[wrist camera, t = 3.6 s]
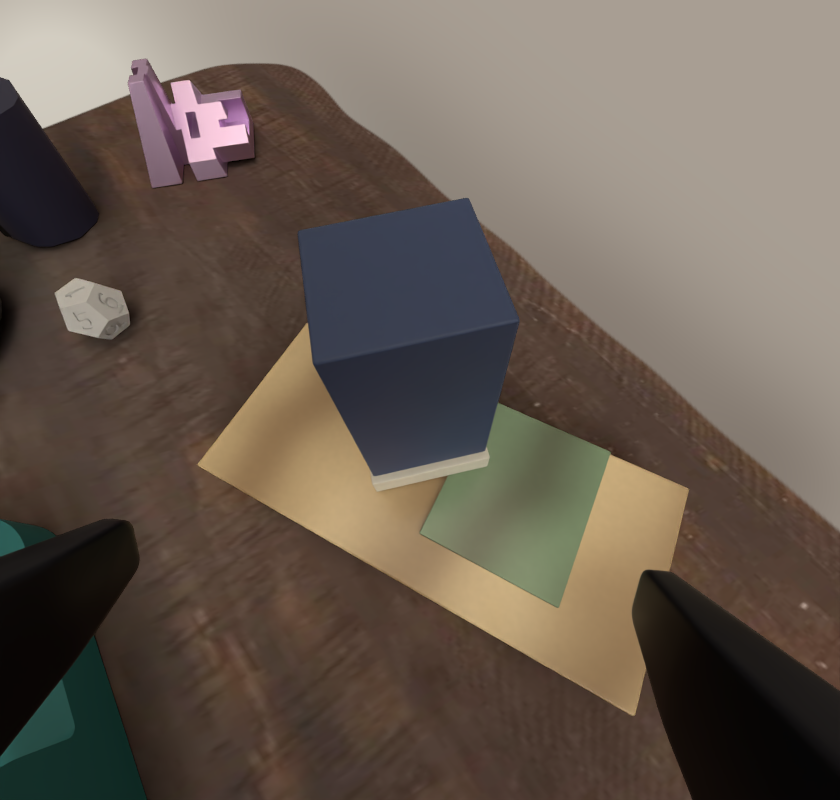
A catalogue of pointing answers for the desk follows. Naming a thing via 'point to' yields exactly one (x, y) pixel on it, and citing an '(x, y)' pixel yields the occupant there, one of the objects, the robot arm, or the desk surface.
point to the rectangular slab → (473, 523)
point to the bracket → (69, 727)
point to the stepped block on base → (410, 336)
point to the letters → (188, 128)
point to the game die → (93, 309)
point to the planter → (0, 309)
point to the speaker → (36, 181)
